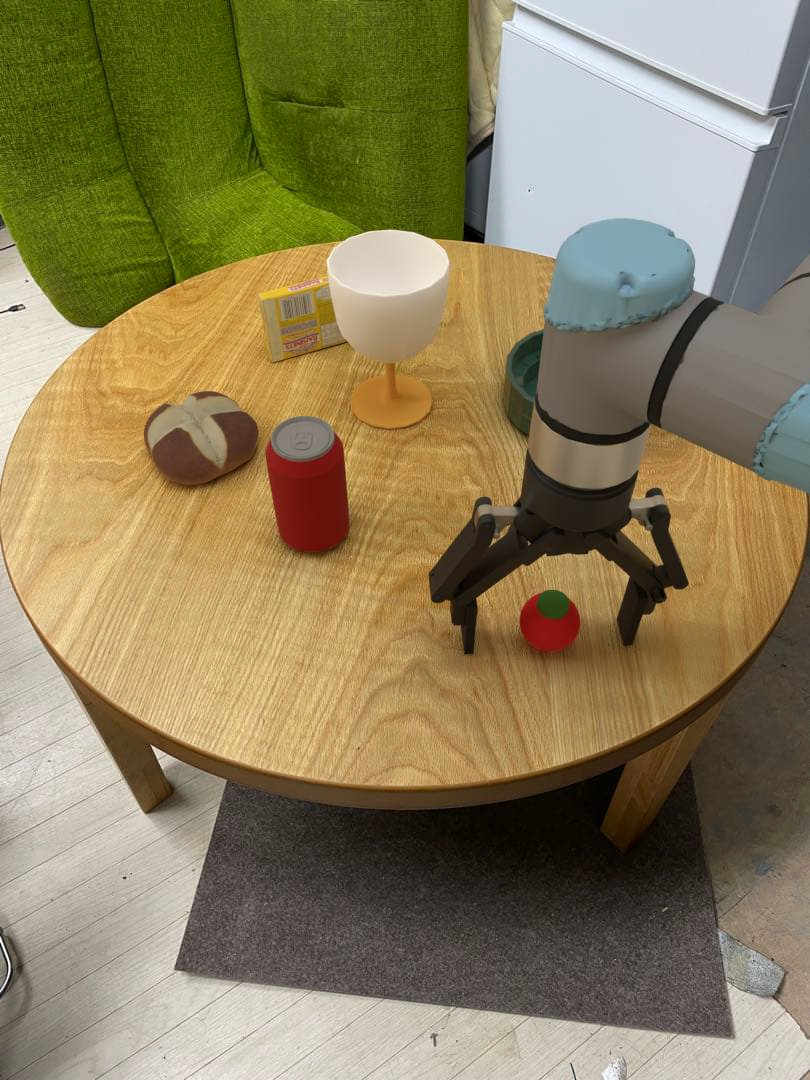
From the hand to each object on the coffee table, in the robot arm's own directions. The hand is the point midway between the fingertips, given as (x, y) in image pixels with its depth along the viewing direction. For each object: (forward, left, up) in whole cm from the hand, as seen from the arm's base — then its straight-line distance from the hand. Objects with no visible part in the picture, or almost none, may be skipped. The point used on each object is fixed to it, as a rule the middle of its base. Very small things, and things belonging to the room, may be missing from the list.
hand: (546, 636), depth 74 cm
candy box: (+37, -29, 0) cm, 47 cm away
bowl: (+8, -30, 0) cm, 31 cm away
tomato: (0, 0, 0) cm, 0 cm away
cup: (+26, -22, 0) cm, 34 cm away
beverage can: (+24, -2, 0) cm, 24 cm away
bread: (+40, -7, 0) cm, 41 cm away
